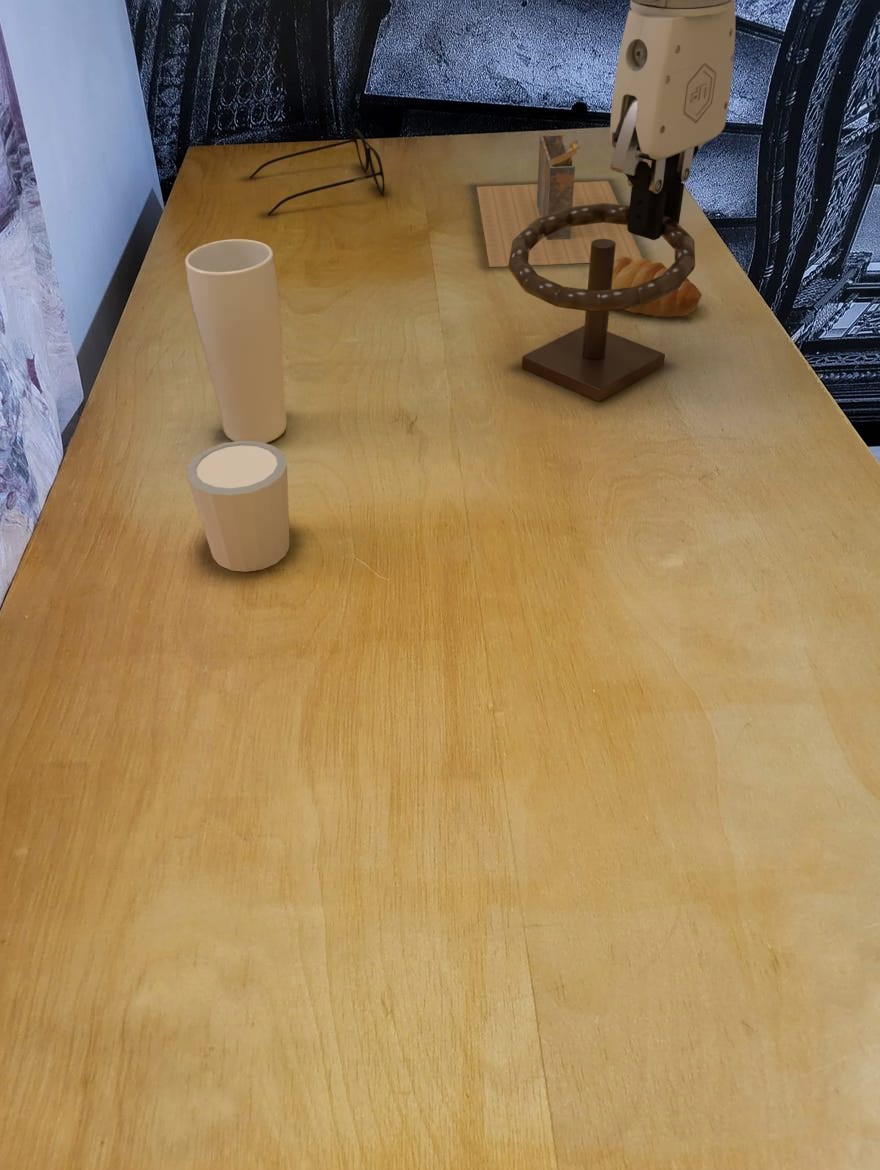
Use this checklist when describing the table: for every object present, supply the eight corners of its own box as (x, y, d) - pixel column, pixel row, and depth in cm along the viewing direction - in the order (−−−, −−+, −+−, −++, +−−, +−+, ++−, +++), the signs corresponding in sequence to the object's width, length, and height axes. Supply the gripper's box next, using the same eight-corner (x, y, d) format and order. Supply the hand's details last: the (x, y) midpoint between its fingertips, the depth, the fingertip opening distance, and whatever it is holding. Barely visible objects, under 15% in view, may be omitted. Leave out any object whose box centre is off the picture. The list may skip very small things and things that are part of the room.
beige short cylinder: (184, 549, 76) (165, 467, 71) (258, 509, 79) (245, 428, 74) (242, 590, 72) (227, 506, 67) (317, 545, 75) (307, 462, 71)
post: (586, 335, 98) (596, 214, 91) (664, 366, 93) (681, 241, 86) (521, 368, 94) (526, 244, 87) (599, 402, 89) (611, 274, 81)
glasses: (388, 199, 128) (381, 157, 124) (271, 229, 127) (261, 188, 123) (360, 163, 138) (354, 123, 135) (252, 191, 137) (243, 152, 133)
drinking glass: (203, 449, 86) (168, 271, 76) (232, 408, 91) (203, 236, 81) (281, 456, 84) (256, 276, 74) (306, 414, 89) (286, 240, 79)
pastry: (709, 302, 103) (716, 264, 100) (680, 328, 99) (686, 290, 96) (623, 282, 107) (627, 245, 104) (592, 307, 103) (595, 269, 100)
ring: (589, 200, 95) (590, 182, 93) (733, 256, 86) (736, 238, 85) (471, 271, 89) (470, 253, 88) (613, 338, 81) (615, 320, 79)
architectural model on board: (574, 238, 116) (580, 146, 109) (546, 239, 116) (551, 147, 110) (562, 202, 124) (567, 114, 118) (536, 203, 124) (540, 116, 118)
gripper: (658, 9, 72) (629, 270, 84) (786, -28, 79) (742, 217, 92) (575, -4, 76) (558, 246, 88) (704, -38, 84) (672, 197, 96)
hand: (652, 230), depth 90 cm, fingers closed on ring, 1 cm apart
